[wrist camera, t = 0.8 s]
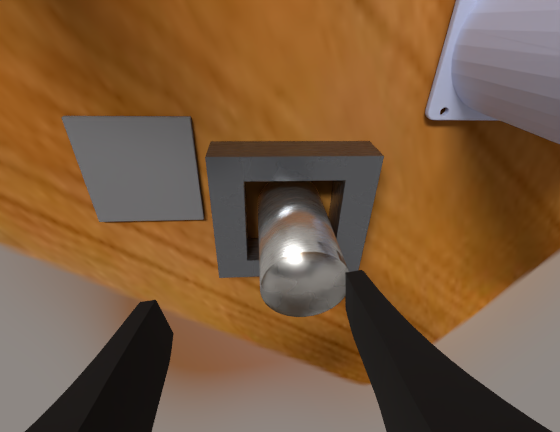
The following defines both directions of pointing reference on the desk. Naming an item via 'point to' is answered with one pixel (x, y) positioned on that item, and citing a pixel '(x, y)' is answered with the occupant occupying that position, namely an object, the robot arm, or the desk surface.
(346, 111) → the desk surface
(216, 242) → the housing
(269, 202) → the metal cylinder
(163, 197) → the mat
